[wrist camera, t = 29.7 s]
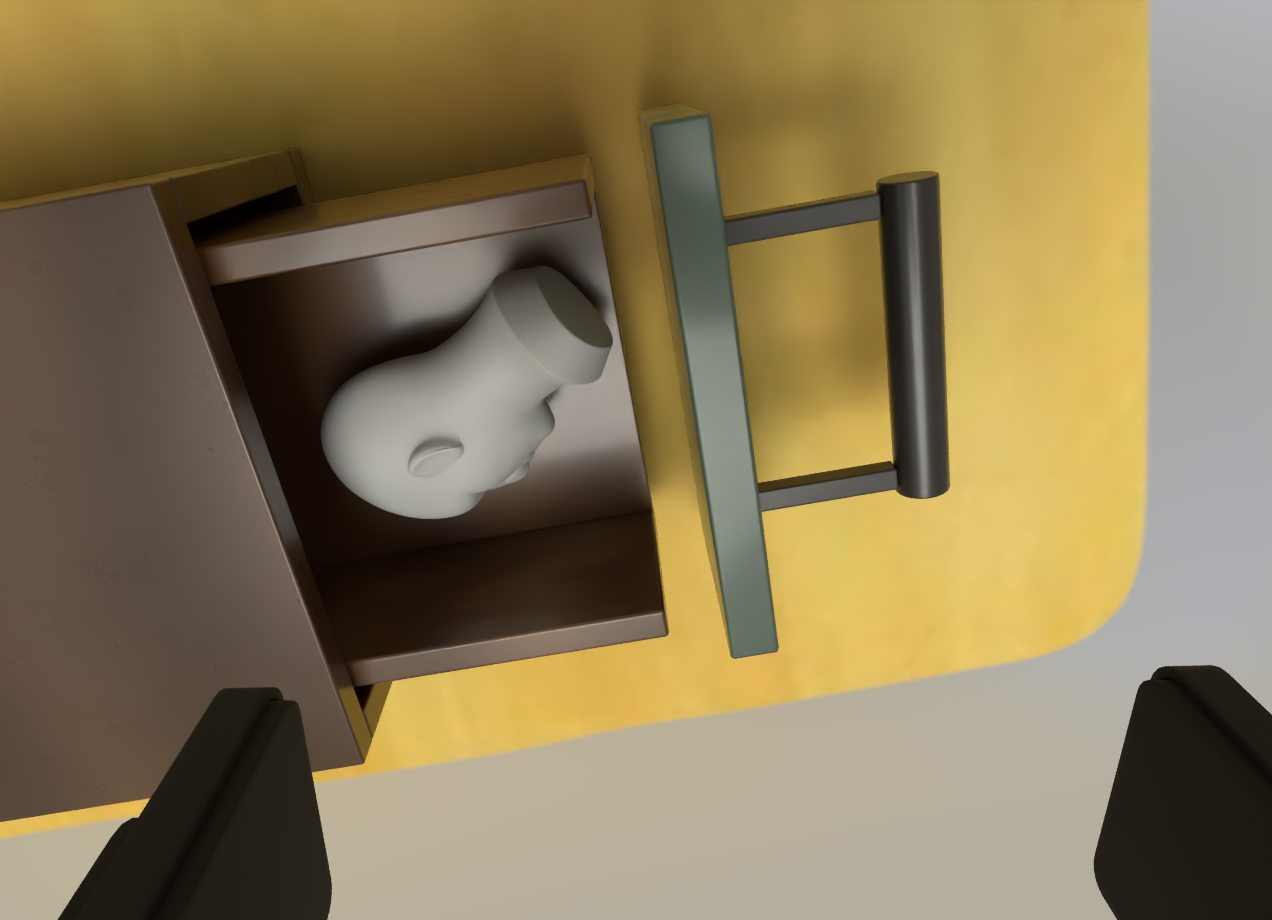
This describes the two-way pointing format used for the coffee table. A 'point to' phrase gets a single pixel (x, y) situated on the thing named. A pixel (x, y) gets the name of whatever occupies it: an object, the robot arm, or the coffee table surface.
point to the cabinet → (143, 499)
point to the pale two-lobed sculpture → (466, 400)
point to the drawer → (552, 399)
